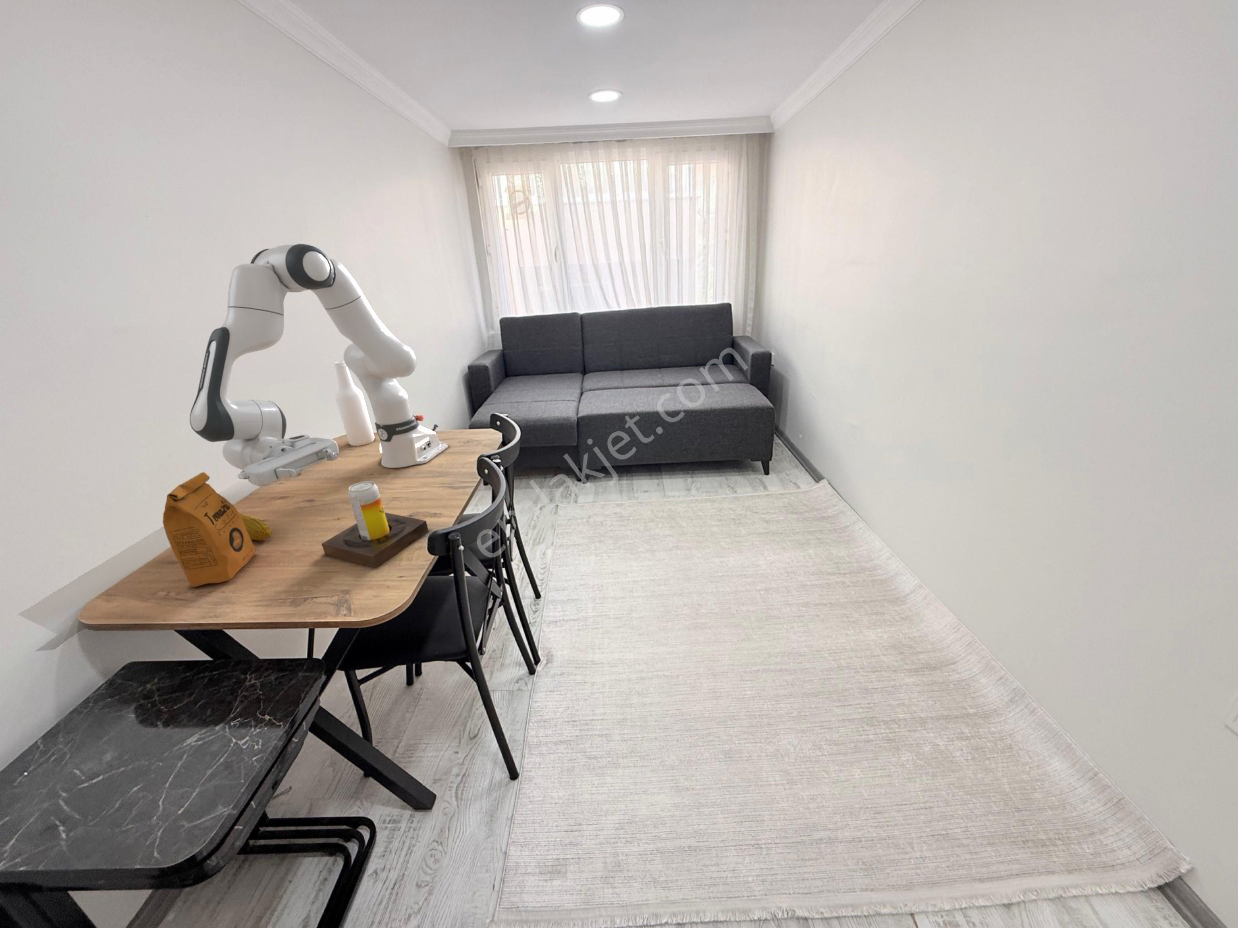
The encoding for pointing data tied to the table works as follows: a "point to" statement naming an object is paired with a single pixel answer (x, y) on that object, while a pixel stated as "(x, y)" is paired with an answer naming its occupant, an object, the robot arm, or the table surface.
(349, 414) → the alcohol
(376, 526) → the beer can
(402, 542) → the holder
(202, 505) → the coffee package
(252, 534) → the food
